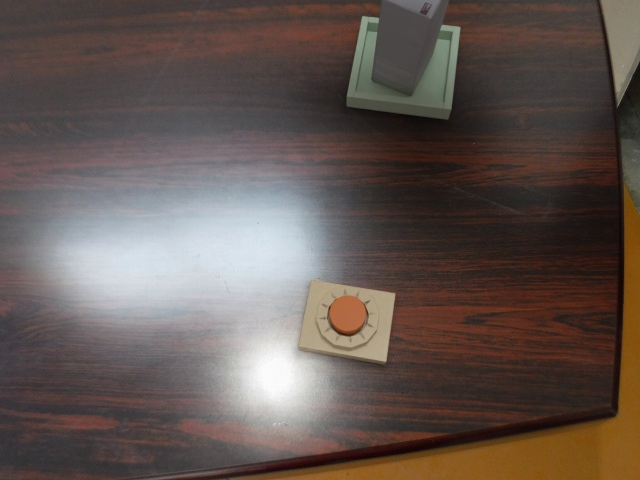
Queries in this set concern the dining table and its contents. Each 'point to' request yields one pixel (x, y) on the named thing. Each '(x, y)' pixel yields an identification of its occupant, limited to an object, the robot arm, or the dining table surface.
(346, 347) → the orange push button box
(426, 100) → the shallow square tray
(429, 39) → the cosmetic box
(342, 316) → the button
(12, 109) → the dining table surface
